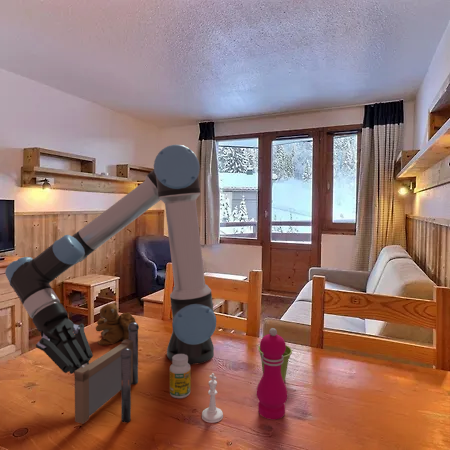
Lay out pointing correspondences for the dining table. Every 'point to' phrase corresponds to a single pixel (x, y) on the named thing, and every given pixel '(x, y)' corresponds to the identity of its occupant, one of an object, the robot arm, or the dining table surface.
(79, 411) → the gate leaf
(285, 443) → the dining table surface
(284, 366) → the plant pot
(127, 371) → the gate posts
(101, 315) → the stuffed squirrel
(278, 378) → the pepper mill
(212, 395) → the chess piece
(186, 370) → the supplement bottle
